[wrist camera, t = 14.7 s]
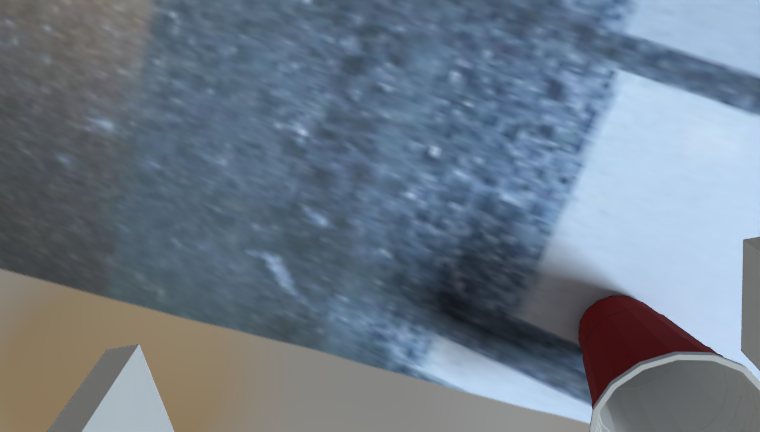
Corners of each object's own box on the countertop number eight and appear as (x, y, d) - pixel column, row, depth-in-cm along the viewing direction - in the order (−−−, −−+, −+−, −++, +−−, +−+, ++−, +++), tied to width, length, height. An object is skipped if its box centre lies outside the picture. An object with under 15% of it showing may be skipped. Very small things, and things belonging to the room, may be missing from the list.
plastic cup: (515, 345, 49) (556, 451, 38) (604, 241, 46) (677, 322, 35) (619, 408, 51) (686, 525, 40) (710, 312, 48) (811, 410, 37)
